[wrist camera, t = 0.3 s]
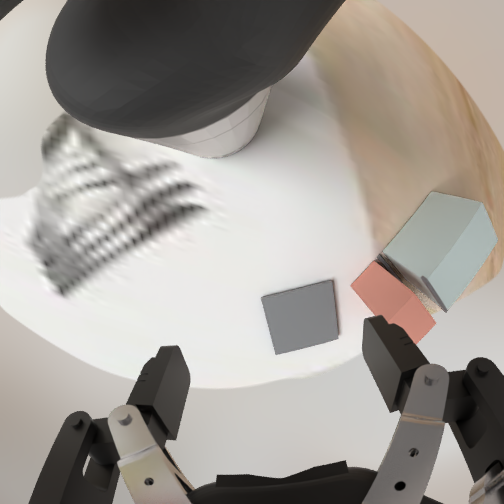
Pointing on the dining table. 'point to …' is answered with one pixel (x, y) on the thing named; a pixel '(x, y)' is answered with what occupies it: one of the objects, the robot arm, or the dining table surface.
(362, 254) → the dining table surface
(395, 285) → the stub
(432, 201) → the pale green block
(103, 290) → the dining table surface
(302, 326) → the coaster
